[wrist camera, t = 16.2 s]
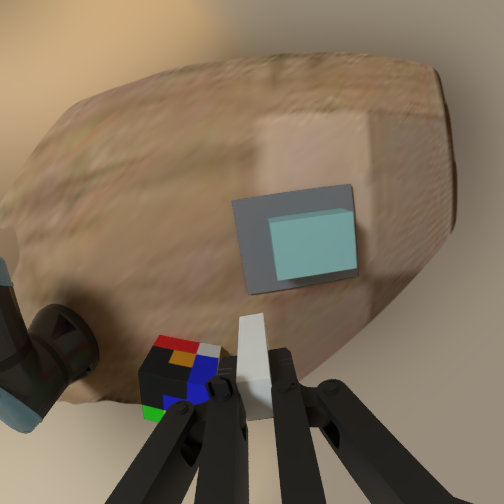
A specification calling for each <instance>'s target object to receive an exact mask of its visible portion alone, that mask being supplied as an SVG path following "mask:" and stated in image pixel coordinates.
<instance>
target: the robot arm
mask: <svg viewBox="0 0 504 504" xmlns="http://www.w3.org/2000/svg"><path fill="white" fill-rule="evenodd" d="M13 286H14V285H13V283H12V282H11V279H10V276H9V273H8V269H7V265H6V263H5V261H4V259H3V258H2V257H0V420H1V421H3V422H4V423H5V424H6V425H8V426H10V427H11V428H13V429H14V430H16V431H18V432H21V433H30V432H32V431H33V430H34V429H35V427H36V426H37V425H38V424H39V423H41V422H42V421H43V418H44V417H45V416H46V414H47V413H48V412H49V410H50V409H51V408H52V406H53V405H54V404H55V402H56V401H57V400H58V398H59V397H60V396H61V394H62V393H63V392H64V390H65V389H66V388H67V387H68V386H69V385H70V384H72V383H74V382H76V381H78V380H80V379H82V378H84V377H86V376H88V375H89V374H90V373H91V372H92V371H93V370H94V368H95V367H96V366H97V364H98V360H99V351H98V346H97V343H96V340H95V338H94V336H93V334H92V332H91V331H90V329H89V328H88V326H87V325H86V323H85V322H84V321H83V320H82V319H81V318H80V317H79V316H78V315H77V314H76V313H75V312H73V311H72V310H70V309H69V308H67V307H65V306H63V305H59V304H50V305H47V306H46V307H44V308H43V309H42V310H40V311H39V312H38V313H37V314H36V316H35V318H34V320H33V321H32V323H31V325H30V327H29V329H28V330H27V328H26V326H25V323H24V320H23V318H22V315H21V312H20V309H19V306H18V302H17V299H16V296H15V292H14V289H13ZM205 387H206V390H207V392H208V395H209V400H207V401H206V402H203V403H200V404H197V405H194V404H193V403H191V402H190V401H187V400H181V401H177V402H175V403H173V404H171V406H170V407H169V408H168V409H167V411H166V412H165V414H164V415H163V417H162V418H161V420H160V421H159V423H158V424H157V426H156V428H155V429H154V431H153V432H152V434H151V435H150V437H149V438H148V440H147V441H146V443H145V444H144V446H143V447H142V449H141V450H140V452H139V453H138V455H137V456H136V458H135V459H134V461H133V462H132V464H131V465H130V467H129V468H128V470H127V471H126V473H125V474H124V476H123V477H122V479H121V480H120V482H119V483H118V485H117V486H116V488H115V489H114V490H113V492H112V494H111V495H110V496H109V498H108V499H107V501H106V502H105V504H181V503H182V501H183V499H184V497H185V495H186V493H187V491H188V489H189V486H190V484H191V482H192V480H193V478H194V476H195V474H196V472H197V469H198V467H199V472H198V478H197V486H196V494H195V501H194V504H249V474H248V428H247V424H246V417H247V420H248V421H253V420H261V419H268V418H274V427H275V437H276V447H277V456H278V467H279V478H280V488H281V498H282V504H326V499H325V495H324V490H323V486H322V481H321V476H320V472H319V467H318V463H317V459H316V454H315V450H314V445H313V441H312V436H311V432H310V428H309V427H319V429H320V431H321V432H322V434H323V435H324V437H325V438H326V440H327V441H328V443H329V444H330V446H331V447H332V449H333V450H334V452H335V453H336V454H337V456H338V458H339V459H340V460H341V462H342V463H343V465H344V466H345V468H346V469H347V470H348V472H349V473H350V475H351V476H352V478H353V479H354V480H355V482H356V483H357V484H358V486H359V487H360V489H361V490H362V491H363V493H364V494H365V496H366V497H367V498H368V500H369V501H370V503H371V504H472V503H470V502H467V501H464V500H461V499H458V498H455V497H453V496H452V495H451V494H450V493H449V492H448V491H447V490H446V489H445V488H444V487H443V486H442V485H441V484H440V483H439V482H438V481H437V480H436V479H435V478H434V477H433V476H432V475H431V474H430V473H429V472H428V471H427V470H426V469H425V468H424V467H423V466H422V465H421V464H420V463H419V462H418V461H417V460H416V459H415V458H414V457H413V456H412V454H411V453H410V452H409V451H408V450H407V449H406V448H405V447H404V446H403V445H402V444H401V443H400V442H399V441H398V440H397V439H396V438H395V437H394V436H393V435H392V434H391V433H390V432H389V431H388V429H387V428H386V427H385V426H384V425H383V424H382V423H381V422H380V421H379V420H378V419H377V418H376V417H375V416H374V415H373V414H372V412H371V411H370V410H369V409H368V408H367V407H366V406H365V405H364V404H363V403H362V402H361V401H360V400H359V398H358V397H357V396H356V395H355V394H354V393H353V392H352V391H351V390H350V389H349V388H348V387H347V386H346V385H345V384H344V383H343V382H342V381H340V380H336V379H329V380H326V381H323V382H322V383H320V384H319V385H318V387H306V386H303V385H301V384H300V383H299V382H298V380H297V377H296V372H295V368H294V364H293V360H292V356H291V352H290V351H289V350H288V349H287V348H286V347H285V348H279V349H273V350H269V344H268V338H267V333H266V327H265V322H264V317H263V313H260V314H254V315H248V316H242V317H240V320H239V338H238V356H231V357H223V358H222V360H221V361H220V362H219V365H218V372H217V376H214V377H212V378H210V379H209V380H208V381H207V382H206V384H205Z"/></svg>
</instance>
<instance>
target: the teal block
mask: <svg viewBox="0 0 504 504" xmlns="http://www.w3.org/2000/svg"><path fill="white" fill-rule="evenodd" d="M268 222H269V228H270V235H271V242H272V249H273V256H274V264H275V270H276V275H277V279H278V281H279V280H286V279H292V278H299V277H305V276H312V275H318V274H324V273H330V272H336V271H342V270H348V269H354V268H357V263H356V245H355V231H354V219H353V212H352V211H349V210H345V209H342V208H341V209H333V210H325V211H317V212H310V213H302V214H295V215H288V216H281V217H274V218H268Z"/></svg>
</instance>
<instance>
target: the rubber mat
mask: <svg viewBox="0 0 504 504" xmlns="http://www.w3.org/2000/svg"><path fill="white" fill-rule="evenodd" d="M232 207H233V213H234V218H235V224H236V229H237V235H238V241H239V246H240V252H241V257H242V263H243V268H244V274H245V279H246V285H247V290H248V295H249V294H256V293H263V292H269V291H276V290H282V289H288V288H294V287H300V286H306V285H312V284H318V283H324V282H329V281H335V280H340V279H346V278H351V277H356V276H359V269H358V252H357V239H356V227H355V217H354V207H353V199H352V190H351V184H346V185H337V186H329V187H321V188H313V189H306V190H299V191H291V192H285V193H278V194H271V195H265V196H258V197H252V198H246V199H240V200H234V201H232ZM341 208H342V209H345V210H349V211H352V212H353V219H354V231H355V245H356V263H357V268H354V269H348V270H342V271H336V272H330V273H324V274H318V275H312V276H305V277H299V278H292V279H286V280H279V281H278V279H277V275H276V270H275V264H274V256H273V249H272V242H271V235H270V228H269V222H268V218H274V217H281V216H288V215H295V214H302V213H310V212H317V211H325V210H333V209H341Z"/></svg>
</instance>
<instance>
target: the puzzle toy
mask: <svg viewBox="0 0 504 504" xmlns="http://www.w3.org/2000/svg"><path fill="white" fill-rule="evenodd" d="M220 352H221V346H217V345H211V344H205V343H199V342H193V341H188V340H183V339H177V338H172V337H168V336H163V335H159V337H158V338H157V340H156V342H155V343H154V345H153V347H152V348H151V350H150V352H149V353H148V355H147V357H146V359H145V360H144V362H143V364H142V366H141V367H140V369H139V371H138V374H139V384H140V393H141V401H142V408H143V415H144V419H147V420H151V421H155V422H159V421H160V420H161V418H162V417H163V415H164V414H165V412H166V411H167V409H168V408H169V407H170V406H171V404H173V403H175V402H177V401H181V400H187V401H190V402H191V403H193V404H194V405H197V404H200V403H203V402H206V401H207V400H209V395H208V392H207V390H206V387H205V384H206V382H207V381H208V380H209V379H210V378H212V377H214V376H217V372H218V365H219V360H220Z"/></svg>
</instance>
